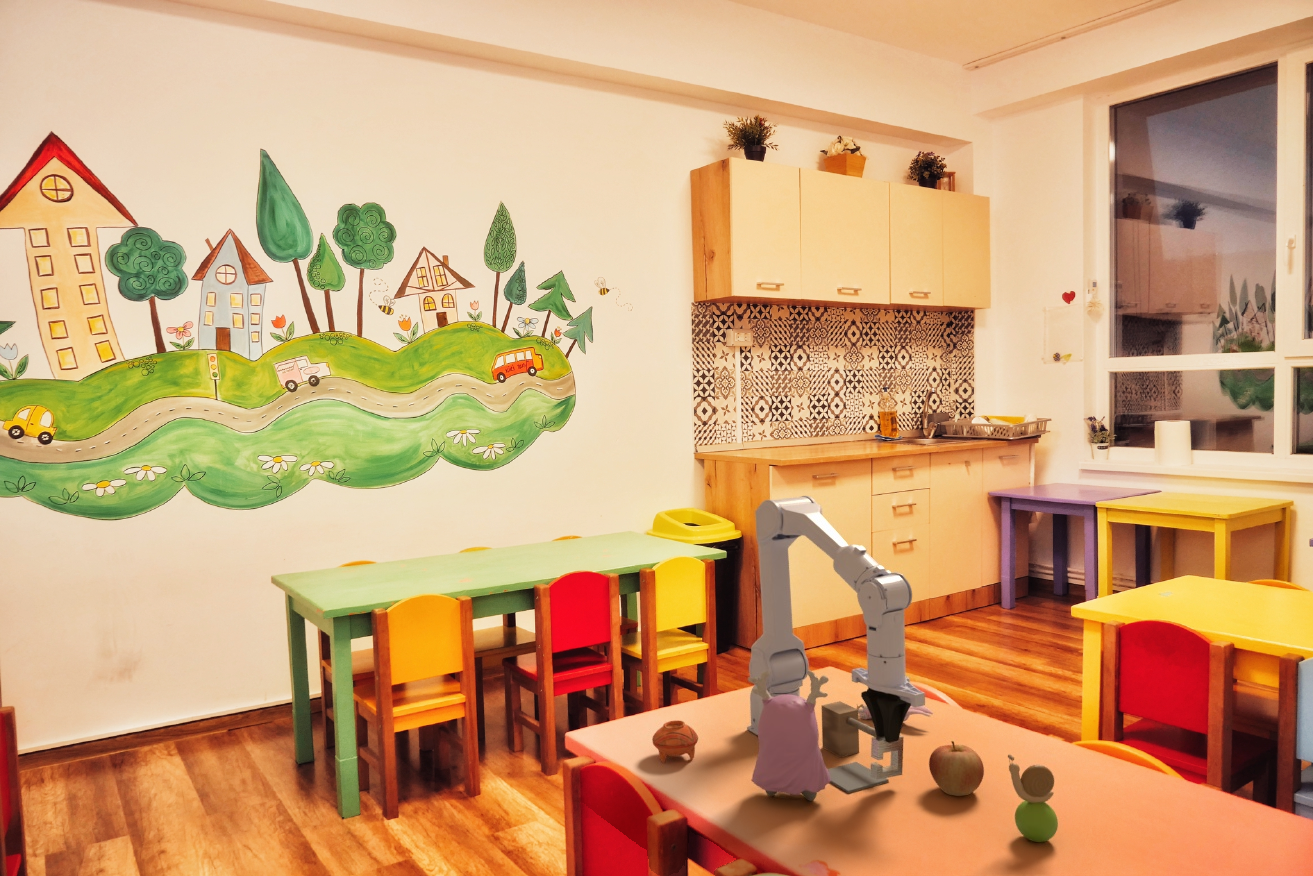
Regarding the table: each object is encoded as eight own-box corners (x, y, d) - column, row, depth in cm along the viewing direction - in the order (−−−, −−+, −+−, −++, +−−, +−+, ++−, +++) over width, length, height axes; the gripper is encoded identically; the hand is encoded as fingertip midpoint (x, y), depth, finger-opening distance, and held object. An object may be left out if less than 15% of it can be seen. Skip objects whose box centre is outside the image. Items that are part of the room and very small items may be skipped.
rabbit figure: (850, 728, 168) (928, 729, 160) (844, 696, 169) (922, 696, 160) (862, 717, 173) (938, 718, 165) (857, 687, 174) (932, 686, 165)
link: (870, 775, 138) (871, 737, 138) (895, 771, 140) (896, 733, 140) (877, 779, 137) (878, 740, 137) (902, 774, 139) (903, 736, 139)
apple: (927, 799, 135) (926, 748, 135) (931, 778, 142) (930, 729, 142) (983, 807, 132) (982, 754, 132) (984, 784, 139) (984, 734, 139)
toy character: (835, 787, 140) (832, 662, 139) (825, 817, 130) (822, 682, 130) (759, 778, 144) (756, 657, 143) (745, 807, 134) (741, 676, 134)
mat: (817, 774, 145) (817, 772, 145) (856, 764, 149) (856, 761, 149) (848, 793, 138) (848, 790, 138) (888, 781, 141) (888, 779, 141)
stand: (822, 747, 156) (821, 705, 156) (840, 742, 158) (839, 701, 157) (882, 780, 142) (881, 734, 142) (901, 775, 144) (900, 729, 143)
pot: (678, 770, 148) (669, 729, 148) (648, 768, 153) (640, 729, 154) (712, 755, 153) (703, 715, 154) (682, 753, 159) (674, 715, 160)
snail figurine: (1001, 832, 124) (999, 747, 124) (1045, 828, 125) (1043, 744, 124) (1020, 851, 119) (1018, 763, 118) (1066, 848, 119) (1064, 760, 119)
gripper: (939, 660, 133) (941, 749, 134) (874, 638, 146) (876, 719, 147) (903, 668, 130) (905, 759, 131) (840, 644, 143) (842, 727, 144)
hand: (887, 738), depth 139 cm, fingers closed on link, 1 cm apart
